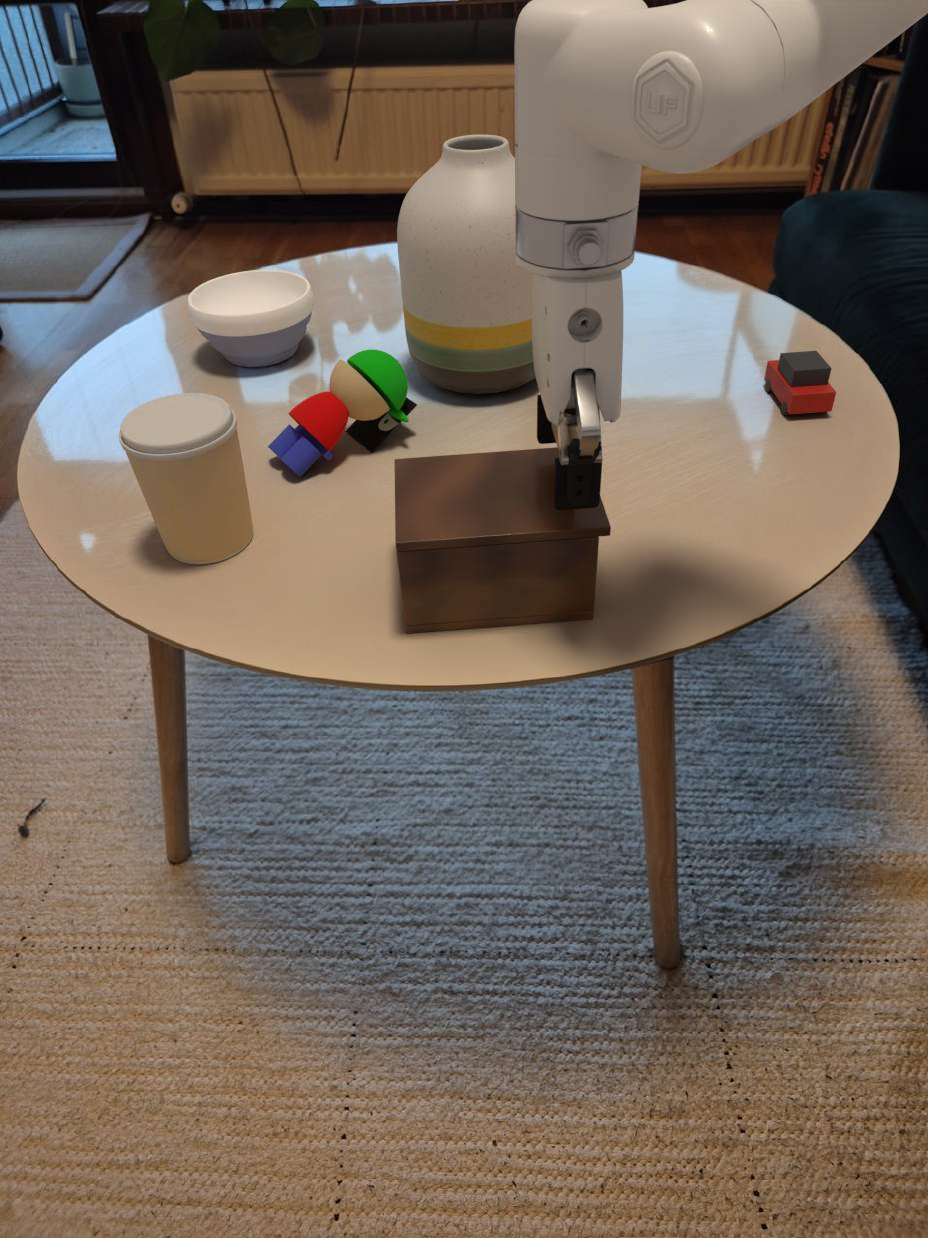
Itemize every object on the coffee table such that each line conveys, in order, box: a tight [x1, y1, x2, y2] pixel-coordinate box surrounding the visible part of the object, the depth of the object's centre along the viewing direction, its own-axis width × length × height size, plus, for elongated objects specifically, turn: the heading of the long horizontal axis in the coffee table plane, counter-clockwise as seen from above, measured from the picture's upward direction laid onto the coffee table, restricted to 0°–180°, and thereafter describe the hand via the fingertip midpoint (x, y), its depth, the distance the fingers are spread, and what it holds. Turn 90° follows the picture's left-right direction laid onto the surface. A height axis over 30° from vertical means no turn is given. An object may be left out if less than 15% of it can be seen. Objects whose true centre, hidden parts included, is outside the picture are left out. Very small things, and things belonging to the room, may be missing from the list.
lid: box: [393, 413, 612, 553], centre depth 66 cm, size 15×12×6 cm
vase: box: [396, 134, 536, 395], centre depth 94 cm, size 17×17×24 cm
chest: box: [396, 536, 600, 634], centre depth 71 cm, size 15×12×8 cm
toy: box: [267, 349, 418, 478], centre depth 88 cm, size 8×8×15 cm
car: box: [763, 350, 837, 416], centre depth 92 cm, size 8×5×5 cm, turn 4°
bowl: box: [187, 269, 315, 368], centre depth 106 cm, size 14×14×8 cm
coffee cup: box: [118, 392, 254, 565], centre depth 75 cm, size 9×9×12 cm
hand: (566, 471), depth 67 cm, fingers open, 8 cm apart
